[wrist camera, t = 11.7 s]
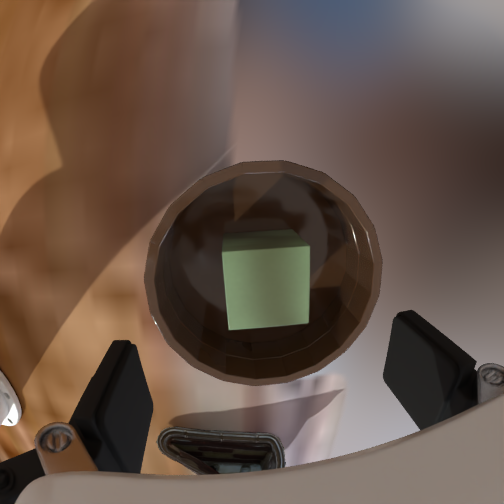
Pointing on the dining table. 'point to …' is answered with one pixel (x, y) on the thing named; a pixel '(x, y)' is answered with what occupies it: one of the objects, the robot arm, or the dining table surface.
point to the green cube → (266, 278)
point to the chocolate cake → (221, 450)
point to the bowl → (212, 277)
